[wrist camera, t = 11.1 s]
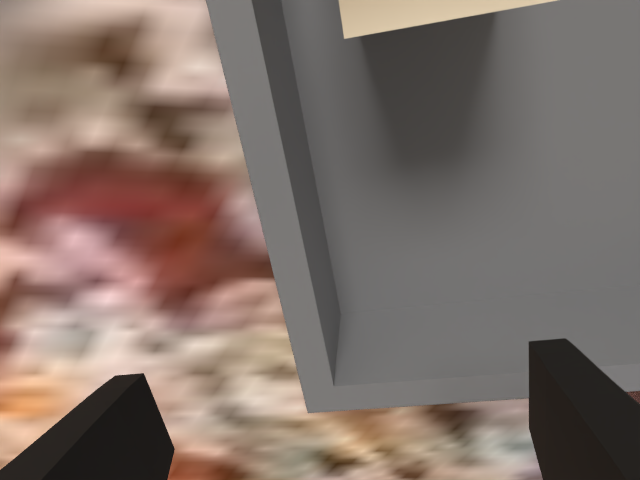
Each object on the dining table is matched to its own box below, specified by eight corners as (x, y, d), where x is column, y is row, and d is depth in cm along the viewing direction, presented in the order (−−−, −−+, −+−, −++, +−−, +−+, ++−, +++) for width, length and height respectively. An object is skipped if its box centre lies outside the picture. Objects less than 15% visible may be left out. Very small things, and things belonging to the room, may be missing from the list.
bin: (774, 286, 18) (888, 374, 14) (320, 328, 21) (308, 413, 17) (949, -481, 10) (1307, -764, 6) (193, -265, 13) (113, -374, 9)
